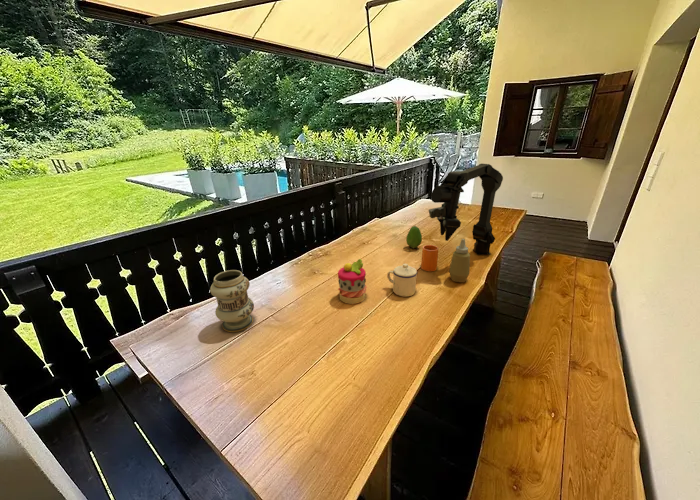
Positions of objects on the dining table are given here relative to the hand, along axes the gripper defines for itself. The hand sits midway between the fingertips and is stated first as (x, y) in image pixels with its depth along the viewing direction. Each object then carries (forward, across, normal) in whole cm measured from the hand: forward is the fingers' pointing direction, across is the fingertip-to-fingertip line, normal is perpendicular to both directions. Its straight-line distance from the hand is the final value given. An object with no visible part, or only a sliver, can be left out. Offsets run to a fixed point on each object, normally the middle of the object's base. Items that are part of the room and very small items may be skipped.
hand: (444, 237), depth 132 cm
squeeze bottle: (+15, +11, +6) cm, 19 cm away
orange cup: (+15, 0, -4) cm, 15 cm away
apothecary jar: (+26, +44, -74) cm, 90 cm away
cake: (+21, +26, -37) cm, 50 cm away
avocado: (+13, -25, -8) cm, 29 cm away
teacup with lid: (+18, +21, -18) cm, 33 cm away
